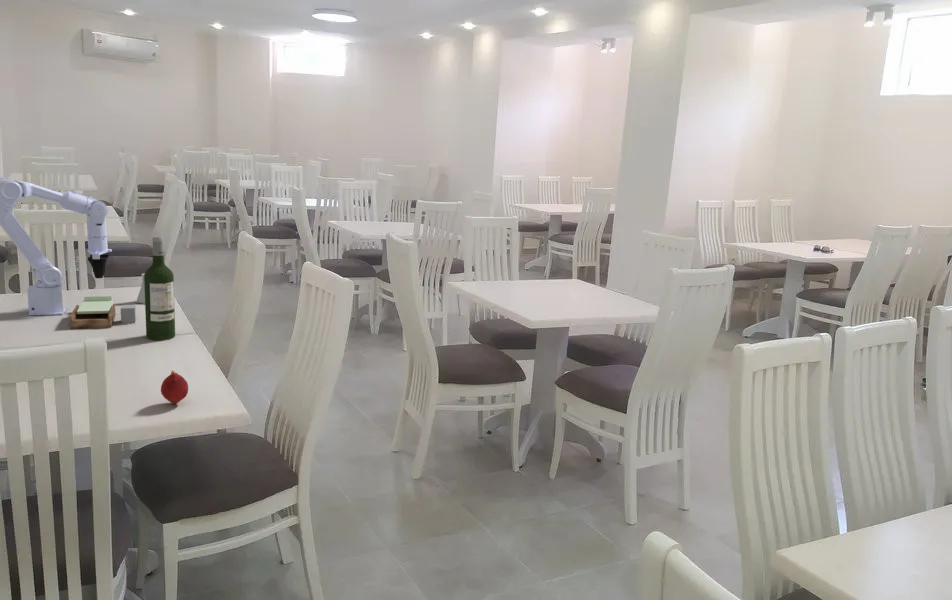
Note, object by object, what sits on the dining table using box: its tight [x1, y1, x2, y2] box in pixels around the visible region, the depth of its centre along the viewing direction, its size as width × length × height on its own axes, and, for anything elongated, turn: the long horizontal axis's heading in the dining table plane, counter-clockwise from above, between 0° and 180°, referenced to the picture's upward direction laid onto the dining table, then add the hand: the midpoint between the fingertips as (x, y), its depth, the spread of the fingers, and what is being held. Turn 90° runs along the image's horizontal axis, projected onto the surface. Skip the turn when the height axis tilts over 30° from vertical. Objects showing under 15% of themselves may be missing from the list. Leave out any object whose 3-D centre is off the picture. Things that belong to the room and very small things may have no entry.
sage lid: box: [77, 295, 115, 314], centre depth 235 cm, size 9×15×2 cm, turn 21°
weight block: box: [120, 304, 137, 325], centre depth 232 cm, size 4×4×5 cm
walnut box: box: [69, 303, 116, 330], centre depth 229 cm, size 11×15×4 cm
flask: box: [136, 272, 145, 305], centre depth 257 cm, size 7×7×10 cm
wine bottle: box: [143, 235, 176, 341], centre depth 215 cm, size 8×8×30 cm
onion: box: [160, 370, 189, 405], centre depth 168 cm, size 6×6×8 cm
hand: (99, 276), depth 245 cm, fingers open, 4 cm apart
